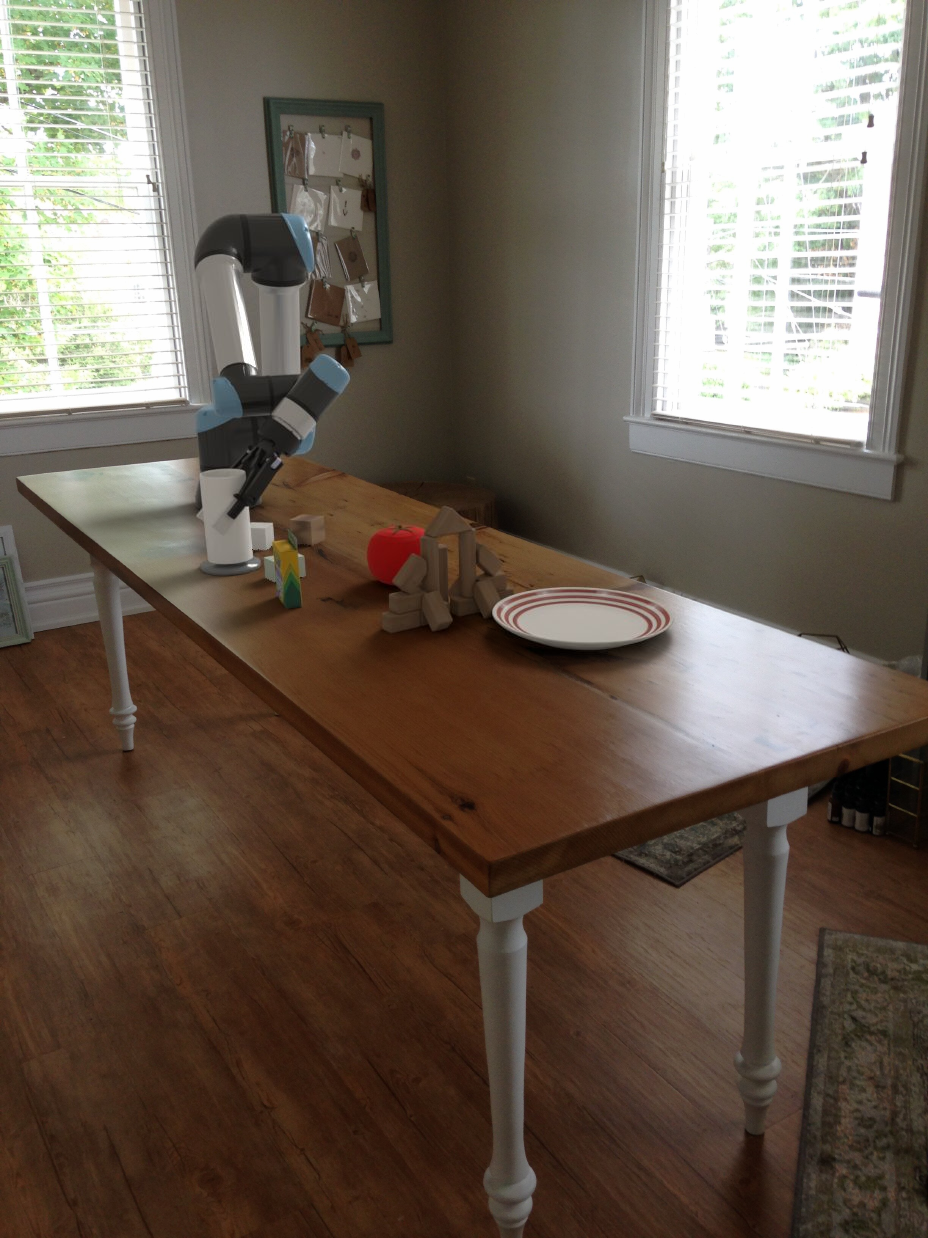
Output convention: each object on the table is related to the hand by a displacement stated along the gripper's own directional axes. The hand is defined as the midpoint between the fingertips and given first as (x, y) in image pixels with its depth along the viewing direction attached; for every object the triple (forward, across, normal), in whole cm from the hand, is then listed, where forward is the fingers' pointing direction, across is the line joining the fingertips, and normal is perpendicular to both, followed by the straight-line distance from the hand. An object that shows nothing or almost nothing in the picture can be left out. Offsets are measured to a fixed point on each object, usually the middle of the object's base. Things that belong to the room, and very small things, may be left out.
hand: (209, 525), depth 190 cm
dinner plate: (-20, -63, -33) cm, 74 cm away
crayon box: (+3, -25, -10) cm, 27 cm away
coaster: (+4, 0, -8) cm, 9 cm away
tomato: (-12, -26, -24) cm, 38 cm away
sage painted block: (-1, -12, -13) cm, 17 cm away
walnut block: (-10, +9, -22) cm, 26 cm away
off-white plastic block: (-3, +11, -15) cm, 19 cm away
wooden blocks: (-11, -46, -24) cm, 53 cm away
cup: (+2, 0, -7) cm, 8 cm away
